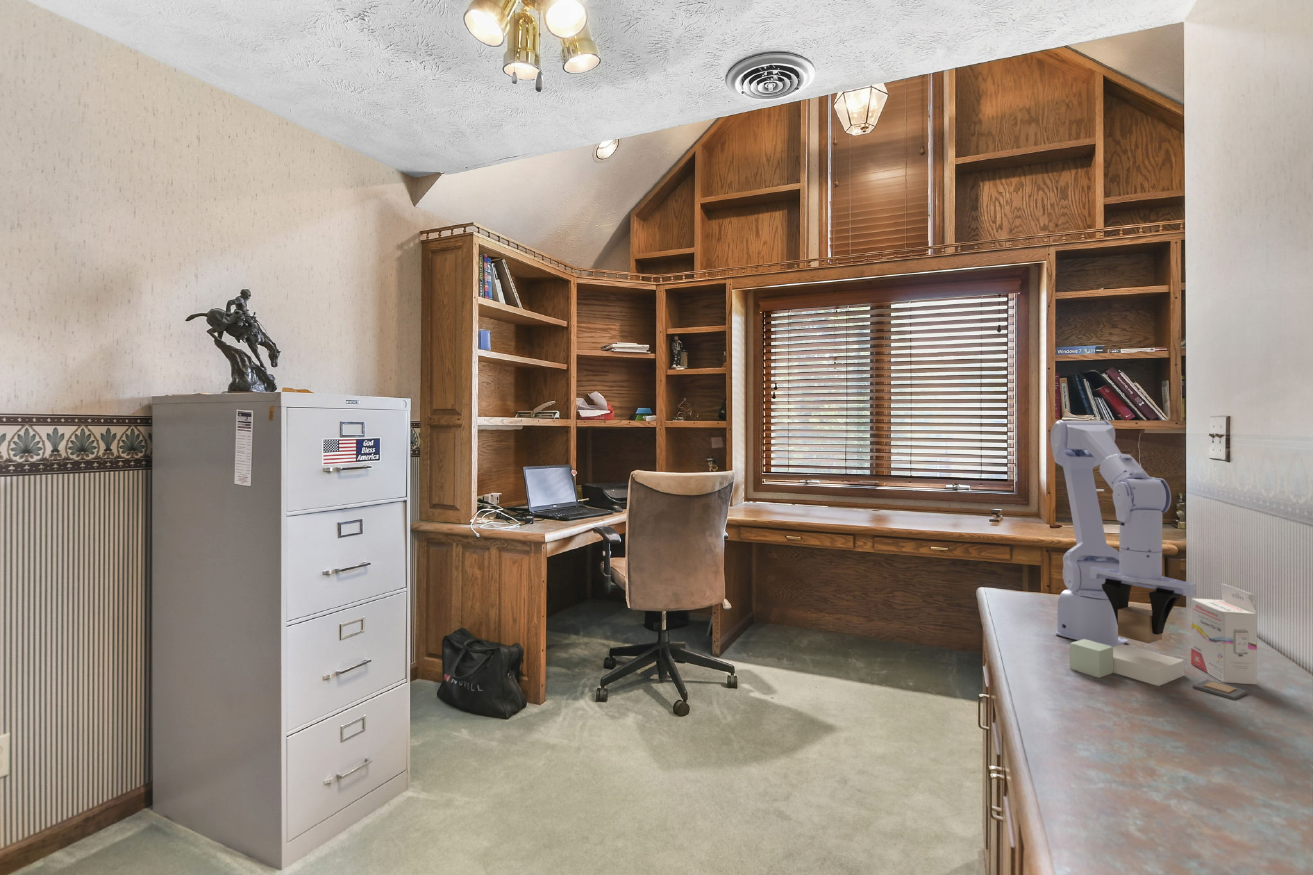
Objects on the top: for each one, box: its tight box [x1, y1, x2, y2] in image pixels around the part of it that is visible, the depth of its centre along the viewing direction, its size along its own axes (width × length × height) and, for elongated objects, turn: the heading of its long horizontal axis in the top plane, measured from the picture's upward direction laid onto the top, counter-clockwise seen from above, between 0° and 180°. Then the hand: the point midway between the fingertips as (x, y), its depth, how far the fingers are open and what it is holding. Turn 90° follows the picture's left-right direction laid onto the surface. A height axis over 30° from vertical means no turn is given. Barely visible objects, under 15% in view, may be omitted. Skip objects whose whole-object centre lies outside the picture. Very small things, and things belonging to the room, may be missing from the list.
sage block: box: [1069, 639, 1113, 679], centre depth 104 cm, size 4×4×4 cm
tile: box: [1192, 679, 1249, 701], centre depth 96 cm, size 5×5×1 cm
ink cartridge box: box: [1190, 582, 1258, 685], centre depth 103 cm, size 9×5×15 cm, turn 168°
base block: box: [1112, 643, 1185, 687], centre depth 104 cm, size 9×9×3 cm
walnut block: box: [1118, 606, 1163, 644], centre depth 104 cm, size 4×4×4 cm
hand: (1139, 629), depth 104 cm, fingers closed on walnut block, 4 cm apart
